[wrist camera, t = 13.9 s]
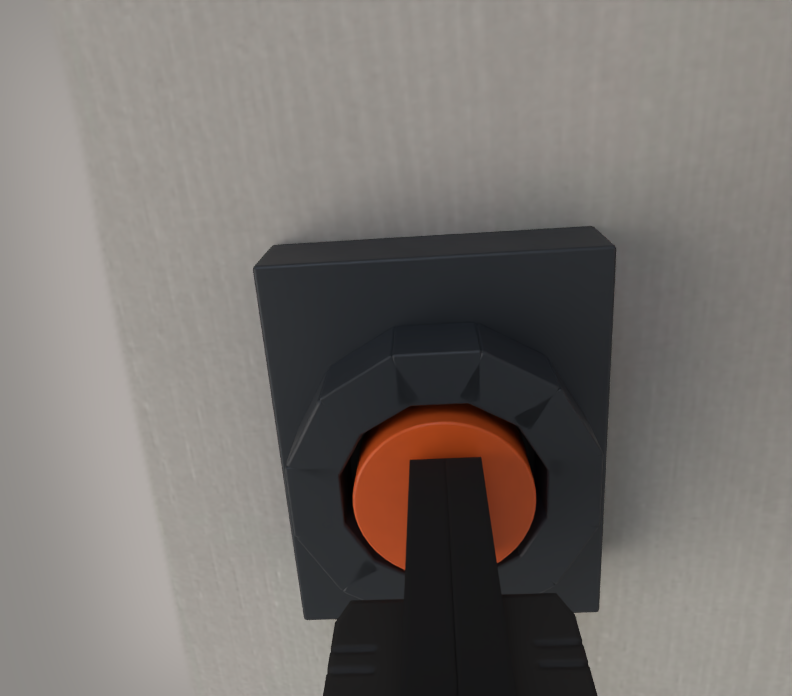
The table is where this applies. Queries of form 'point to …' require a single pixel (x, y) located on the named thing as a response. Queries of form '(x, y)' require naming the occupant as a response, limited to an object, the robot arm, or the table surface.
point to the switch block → (441, 387)
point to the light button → (433, 439)
